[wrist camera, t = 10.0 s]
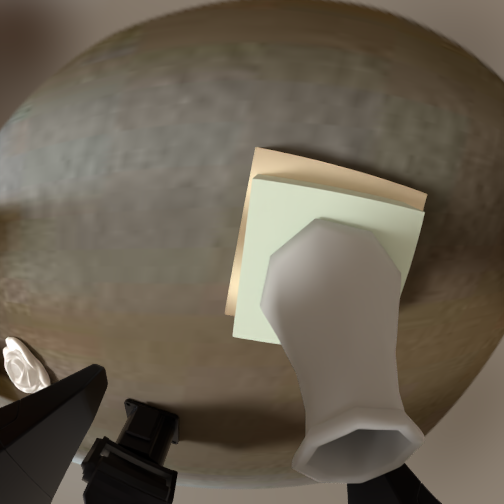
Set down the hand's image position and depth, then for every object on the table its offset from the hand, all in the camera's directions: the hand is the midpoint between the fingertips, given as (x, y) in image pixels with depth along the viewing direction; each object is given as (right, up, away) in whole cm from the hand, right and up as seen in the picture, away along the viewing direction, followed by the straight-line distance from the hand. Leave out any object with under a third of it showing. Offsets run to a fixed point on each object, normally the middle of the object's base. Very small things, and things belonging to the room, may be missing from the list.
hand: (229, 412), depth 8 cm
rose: (-31, -10, +21) cm, 39 cm away
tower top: (+5, +5, +9) cm, 11 cm away
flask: (+5, +3, +6) cm, 9 cm away
